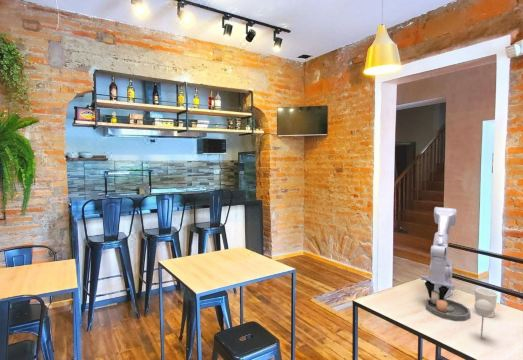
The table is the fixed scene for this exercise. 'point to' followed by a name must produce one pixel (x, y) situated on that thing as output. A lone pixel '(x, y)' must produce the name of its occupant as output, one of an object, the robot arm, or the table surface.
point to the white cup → (486, 298)
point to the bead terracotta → (441, 306)
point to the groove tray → (450, 310)
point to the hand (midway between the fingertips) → (436, 299)
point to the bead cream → (434, 296)
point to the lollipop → (483, 309)
